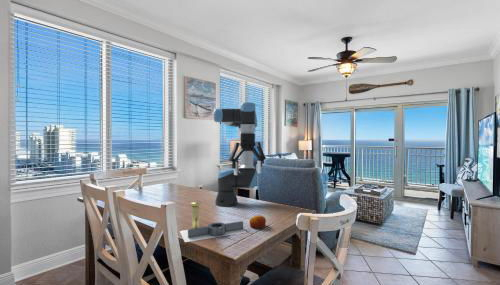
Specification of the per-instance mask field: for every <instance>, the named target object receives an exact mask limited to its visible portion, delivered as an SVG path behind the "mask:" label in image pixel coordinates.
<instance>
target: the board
mask: <svg viewBox="0 0 500 285" xmlns="http://www.w3.org/2000/svg"><path fill="white" fill-rule="evenodd" d="M179 233H180V235H181V237H182V239H183V241H184V243H191V242H196V241H203V240H207V239H214V238H220V237H226V236H233V235H237V234H244V233H245V234H246V233H247V231H246V230H245V229H243V230H236V231H230V232H226V233H225V234H224V235H222V236H217V237H215V236H209V235H205V236H198V237H192V238H188V229H184V230H179Z"/></svg>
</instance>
